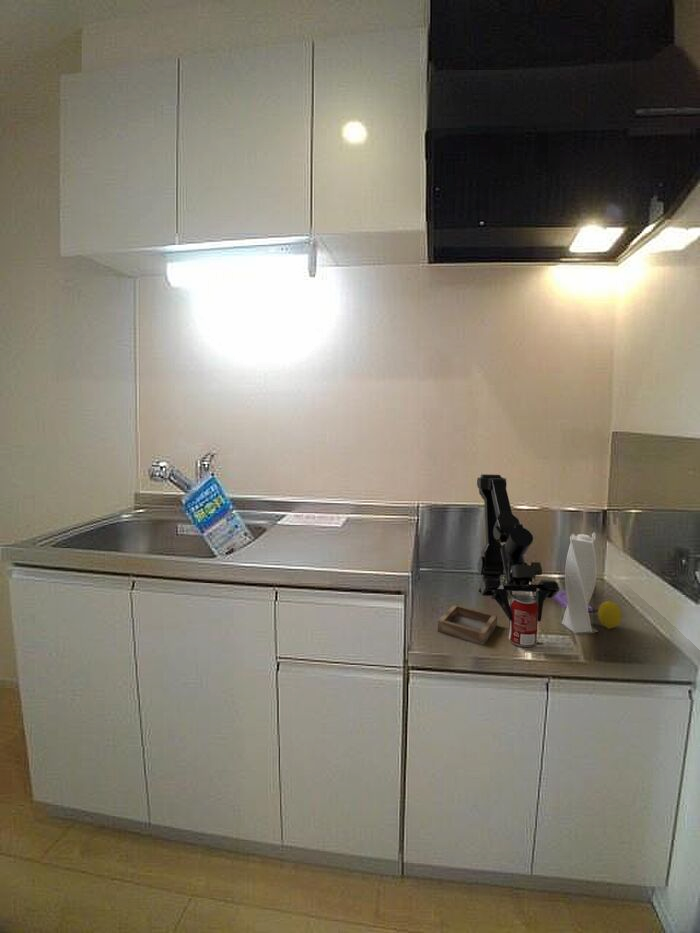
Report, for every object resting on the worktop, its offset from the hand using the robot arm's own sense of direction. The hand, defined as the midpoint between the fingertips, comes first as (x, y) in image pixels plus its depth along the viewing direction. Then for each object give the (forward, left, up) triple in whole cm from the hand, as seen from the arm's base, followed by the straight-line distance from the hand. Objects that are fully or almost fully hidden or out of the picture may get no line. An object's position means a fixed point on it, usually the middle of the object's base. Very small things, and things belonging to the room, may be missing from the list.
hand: (525, 620), depth 108 cm
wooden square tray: (0, -15, -7) cm, 16 cm away
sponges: (-34, +6, -7) cm, 35 cm away
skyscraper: (-17, +10, -7) cm, 21 cm away
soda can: (-1, -1, -7) cm, 7 cm away
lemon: (-22, +17, -7) cm, 29 cm away
